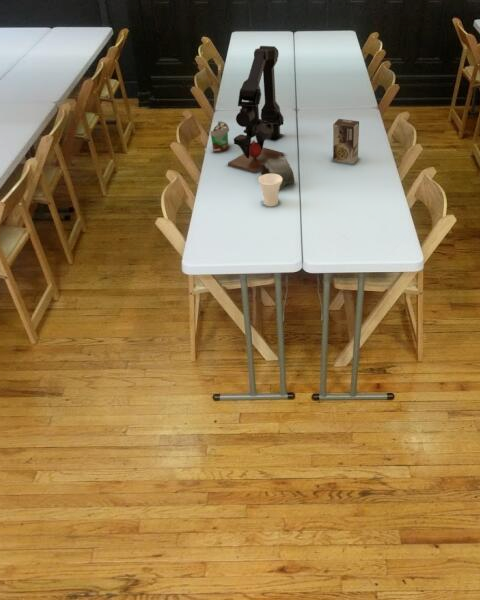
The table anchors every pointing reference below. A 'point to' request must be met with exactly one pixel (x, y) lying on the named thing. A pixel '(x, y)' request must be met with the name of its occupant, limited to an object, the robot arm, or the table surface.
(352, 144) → the coffee box
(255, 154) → the red fruit
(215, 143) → the food container
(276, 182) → the cup
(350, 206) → the table surface
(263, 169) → the rock
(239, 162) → the cutting board
